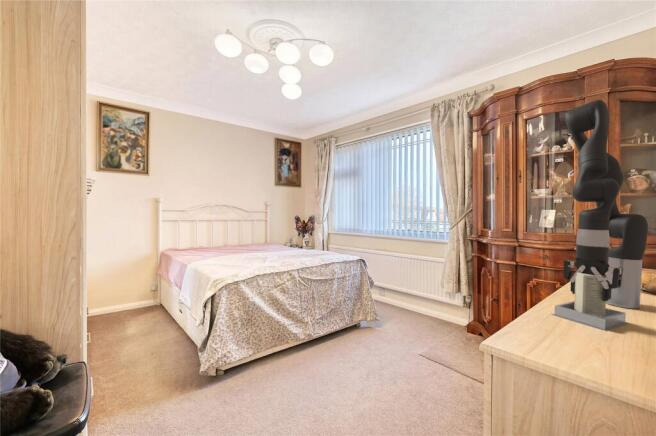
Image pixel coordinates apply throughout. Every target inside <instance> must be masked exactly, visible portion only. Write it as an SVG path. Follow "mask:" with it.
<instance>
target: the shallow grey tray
mask: <svg viewBox="0 0 656 436" xmlns="http://www.w3.org/2000/svg"><path fill="white" fill-rule="evenodd" d="M574 303H575V300H573V301H568V302H565V303H560V304H556V305H554V313H553V314H554V315H556V316H555V317H557V316H560V317H563V318H562V319H564V318H567V319H570V320H573V321H572V322H574V321H577V322H580V323H583V324H582V325H584V324H587V325H590V326H593V327H592V328H594V327H597V328H600V329H603V330H602V331H604V330H606V329H609V328H612V327H614V326H617V325H620V324H623V323H625V322H626V316H627V315H626V314H627V313H626V312H624V311H619V310H616V309H613V308H608V307H606V308H605V315H596V316H594V315H593V314H592V315H590V314H586V313H583V312H579V311H576V310H575V309H574ZM554 315H553V316H554ZM598 316H599V317H598ZM560 317H559V318H560ZM601 317H603V318H601ZM567 319H566V320H567ZM570 320H569V321H570ZM577 322H576V323H577ZM580 323H579V324H580ZM587 325H586V326H587ZM590 326H589V327H590ZM597 328H596V329H597ZM600 329H599V330H600Z"/></svg>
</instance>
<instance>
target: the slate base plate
mask: <svg viewBox="0 0 656 436" xmlns="http://www.w3.org/2000/svg"><path fill="white" fill-rule="evenodd" d="M576 311H577V310H576ZM554 314H555V313H551V314H550V316H555V317H558V318H561V319H564V320H568V321H570V322H574V323H578V324H580V325H583V326H587V327H591V328H594V329H597V330H601V331H604V332H610V331H612V330H615V329H619V328H621V327H623V326H626V325H628V324H630V322H626V321H625V323H623V324H620V325H617V326H614V327H612V328H609V329H606V330H603V329H600V328H597V327H593V326H590V325H587V324H583V323H580V322H577V321H573V320H570V319H567V318H563V317H560V316H556V315H554ZM590 315H592V314H590ZM594 316H596V315H594ZM598 317H599V316H598ZM601 318H603V317H601Z"/></svg>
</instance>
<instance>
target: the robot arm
mask: <svg viewBox="0 0 656 436" xmlns="http://www.w3.org/2000/svg"><path fill="white" fill-rule="evenodd" d="M610 118H611V117H610V111H609V108H608V106H607V104H606V102H605V101H604V100H602V99H596V100H592V101H589V102H588V103H587V102H586V103H585V104H582V105H579V106H577V107H574V108H572V109H569V110H567V111H566V112H565V114H564V119H565V121H564V122H565V124H566V127H567V129H568V132H569V134H570V135H571V138H572V140H573V143H574V145H575V147H576V149H577V152H578V154H577V155H578V157H577V166H578V173H577V177H576V180H575V182H574V184H573V187H572V191H571V194H572V197H573V199H574V200H575V201H577V202H581V203H595V205H596V208H592V209H591V208H590V209H583V210H581V211H579V213H578V223H577V224H578V225H577V227H578V228H577V234H576V245H575V260H574V261H572V260H570V259H568V260H564V261H563V278H564V279H565V280H568V281H569V282H570V292H571V294H572V295H575V276H577V273H584V274H590V275H595V276H596V277H597V279H598V281H599V282H601V284H602V285H603V287H604V289H603V292H602V301H606V304H608V305H610V306H615V307H619V308H625V309H640V308H641V292H642V275H643V272H642V271H643V259H644V258H643V257H644V254H645V251H646V248H647V242H648V241H647V240H648V234H649V224H648V221H647V218H646V217H645V216H644V215H642V214H637V213H620V211H619V207H618V204H617V199H618V198H617V197H618V196H619V192H620V191H621V188H622V186H623V184H624V180H625V179H624V173H623V170H622V168H621V165H620V162H619V160H618V159H617V158H616V157H615V156H614V155H613V154H612V155H611V153H609V152H607V150H608V149H607V147H608V146H607V144H608V139H609V131H610V122H611V121H610ZM591 130H593V131H592V133H591V134H590V136H589V137H587V136H586V134H585V133H586V132H588V131H591ZM610 238H612V239H618V240H619V239H621V240H622V241H621V243H620V245H617V246H615V247H611V248H610V244H611V241H610ZM574 267H575V268H576V269H577V270H576V271H575V272H574V274H573V268H574ZM603 275H604V276H607V277H606V278H603V277H602V276H603Z"/></svg>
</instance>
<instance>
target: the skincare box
mask: <svg viewBox="0 0 656 436" xmlns="http://www.w3.org/2000/svg"><path fill="white" fill-rule="evenodd" d="M602 277H603V278H606V277H607V276H604V275H603V276H602ZM603 289H604V287H603V285H602V284H601V282H599V281H598V279H597V277H596V276H595V275H590V274H584V273H577V276H575V294H574V301H575V303H574V309H575V310H577V311H579V312H583V313H586V314H593V315H605V308H607V307H606V304H607V303H606V301H602V292H603Z"/></svg>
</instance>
